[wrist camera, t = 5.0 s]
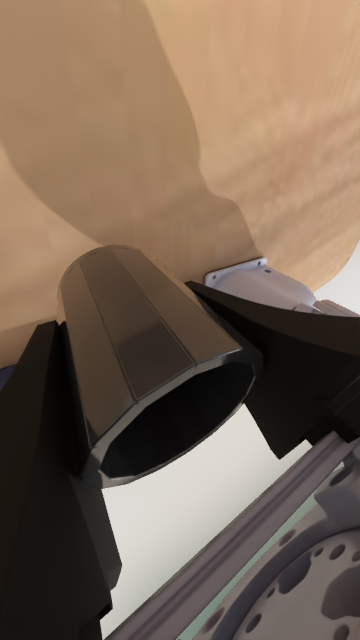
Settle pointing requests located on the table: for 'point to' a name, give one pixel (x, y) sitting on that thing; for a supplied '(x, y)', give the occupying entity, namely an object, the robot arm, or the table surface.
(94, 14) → the table surface
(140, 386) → the pot
